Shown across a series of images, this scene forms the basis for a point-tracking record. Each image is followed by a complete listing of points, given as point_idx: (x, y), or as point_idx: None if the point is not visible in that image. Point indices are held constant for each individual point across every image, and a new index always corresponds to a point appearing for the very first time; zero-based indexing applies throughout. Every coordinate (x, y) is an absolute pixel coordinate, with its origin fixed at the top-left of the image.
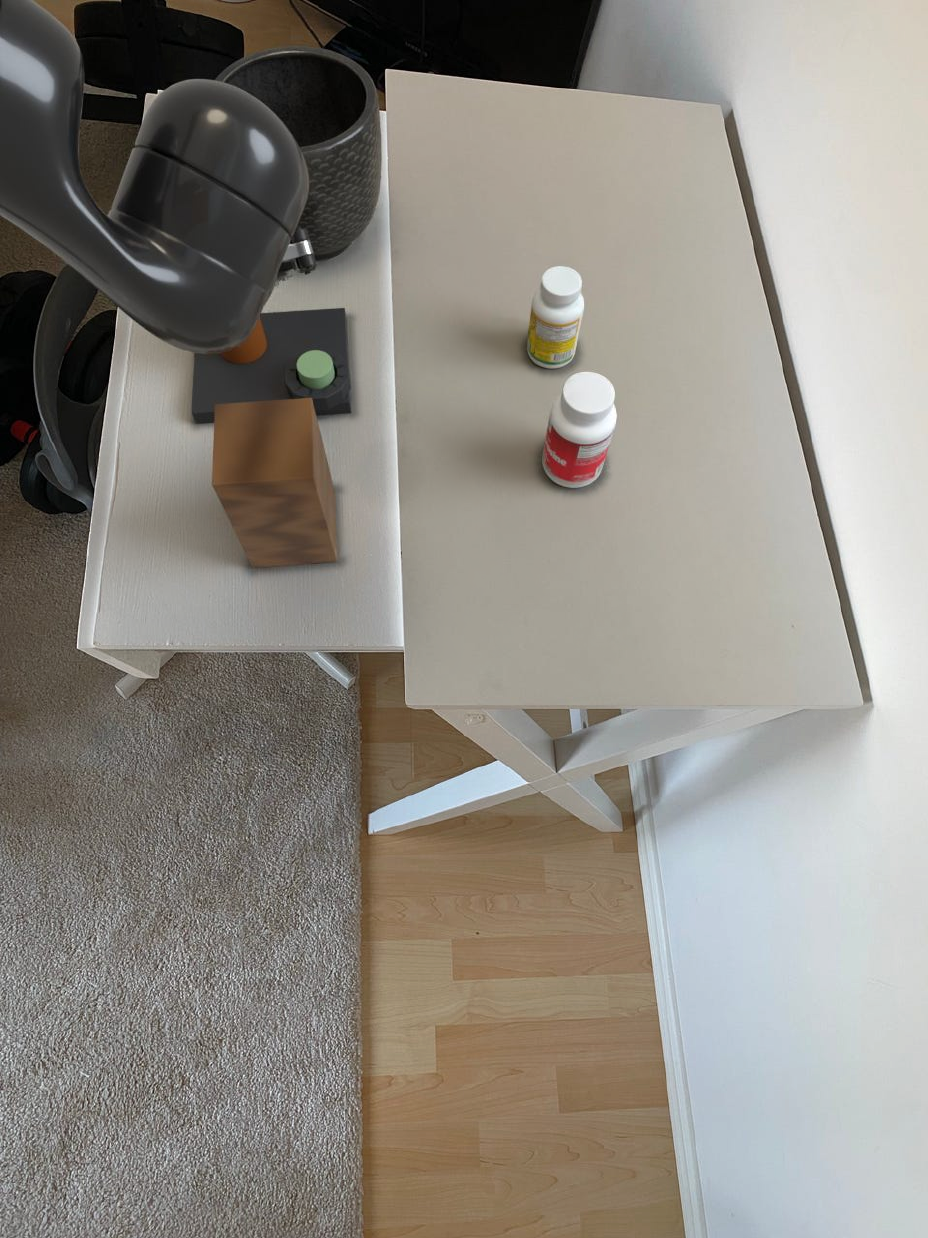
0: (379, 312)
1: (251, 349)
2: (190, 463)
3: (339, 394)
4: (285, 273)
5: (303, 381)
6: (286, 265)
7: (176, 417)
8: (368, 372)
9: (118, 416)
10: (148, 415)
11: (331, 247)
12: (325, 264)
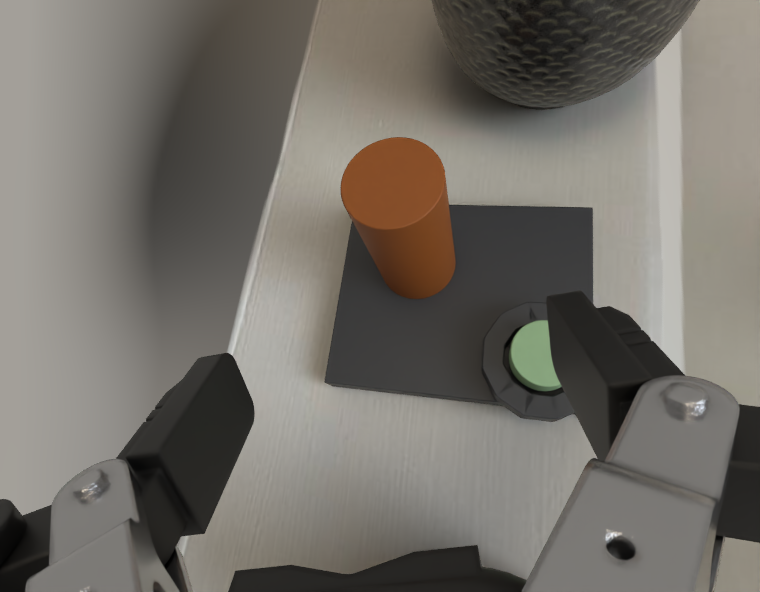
0: (646, 211)
1: (430, 286)
2: (313, 461)
3: None
4: (719, 559)
5: (517, 376)
6: (739, 528)
7: (306, 367)
8: None
9: (231, 350)
10: (269, 356)
11: (584, 99)
12: (556, 116)
